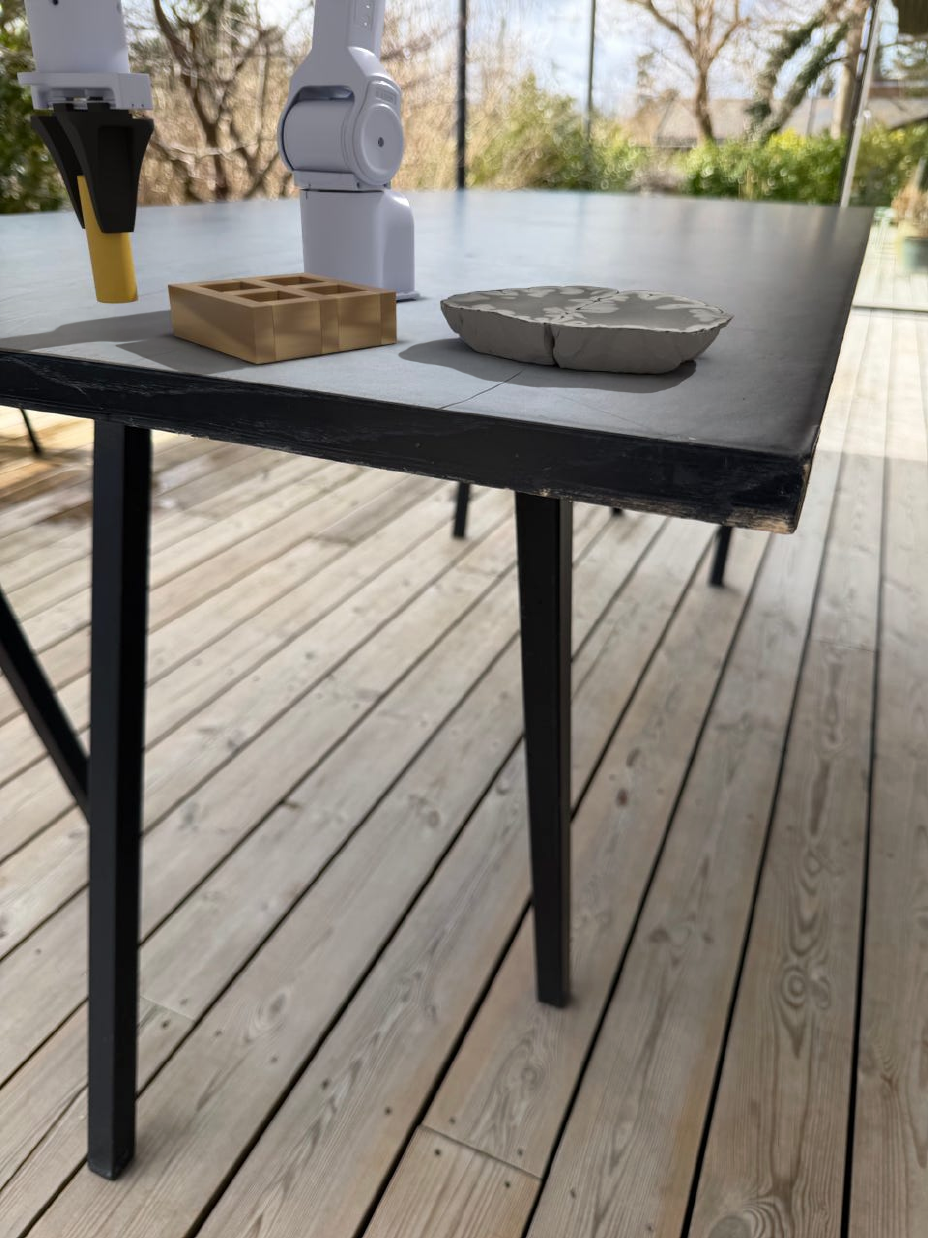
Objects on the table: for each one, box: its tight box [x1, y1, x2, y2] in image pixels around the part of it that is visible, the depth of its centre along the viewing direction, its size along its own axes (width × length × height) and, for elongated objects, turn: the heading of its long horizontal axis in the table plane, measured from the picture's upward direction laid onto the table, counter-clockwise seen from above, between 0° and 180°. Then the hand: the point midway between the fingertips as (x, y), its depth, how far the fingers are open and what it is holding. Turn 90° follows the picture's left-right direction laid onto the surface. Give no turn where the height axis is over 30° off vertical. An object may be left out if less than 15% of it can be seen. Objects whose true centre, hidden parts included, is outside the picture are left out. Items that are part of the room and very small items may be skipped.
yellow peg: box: [77, 175, 139, 304], centre depth 63 cm, size 3×3×8 cm
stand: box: [167, 272, 398, 365], centre depth 64 cm, size 11×11×4 cm
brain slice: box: [439, 285, 735, 375], centre depth 64 cm, size 20×17×3 cm
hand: (107, 230), depth 63 cm, fingers closed on yellow peg, 3 cm apart
